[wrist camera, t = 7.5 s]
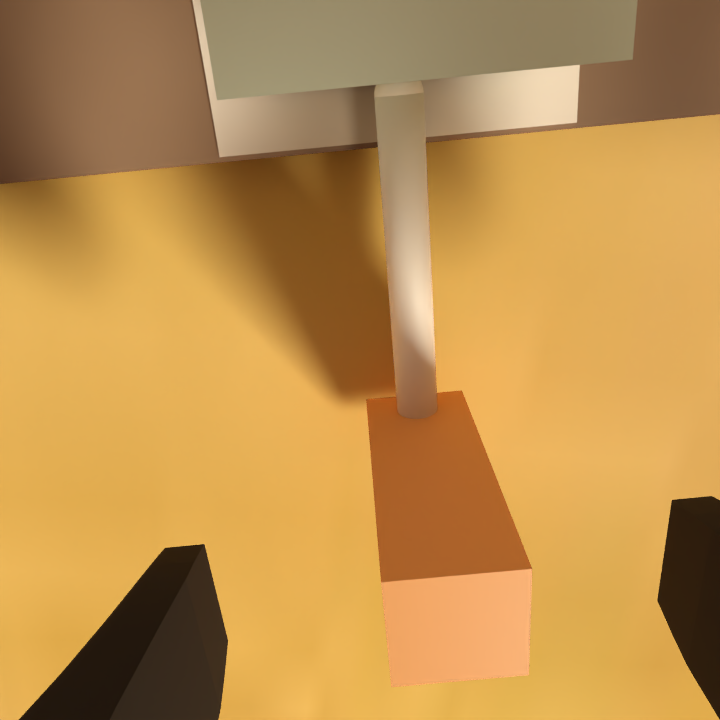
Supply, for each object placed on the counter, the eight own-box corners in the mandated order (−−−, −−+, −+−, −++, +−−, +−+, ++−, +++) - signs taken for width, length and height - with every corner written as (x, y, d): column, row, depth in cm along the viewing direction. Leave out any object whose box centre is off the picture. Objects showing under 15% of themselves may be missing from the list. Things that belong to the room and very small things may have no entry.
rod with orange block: (315, 484, 14) (302, 694, 9) (188, -405, 8) (-30, -1108, 3) (521, 465, 14) (618, 667, 9) (541, -443, 8) (833, -1205, 3)
